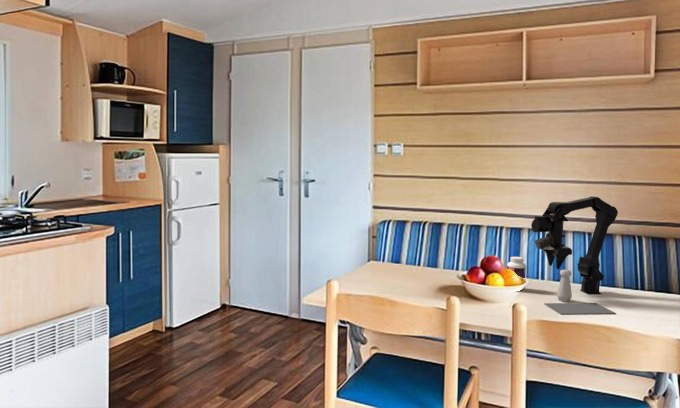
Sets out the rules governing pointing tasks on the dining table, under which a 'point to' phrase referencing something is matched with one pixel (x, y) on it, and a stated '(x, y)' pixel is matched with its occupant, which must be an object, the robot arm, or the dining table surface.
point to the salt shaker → (564, 286)
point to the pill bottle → (517, 266)
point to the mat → (578, 308)
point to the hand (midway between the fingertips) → (554, 267)
